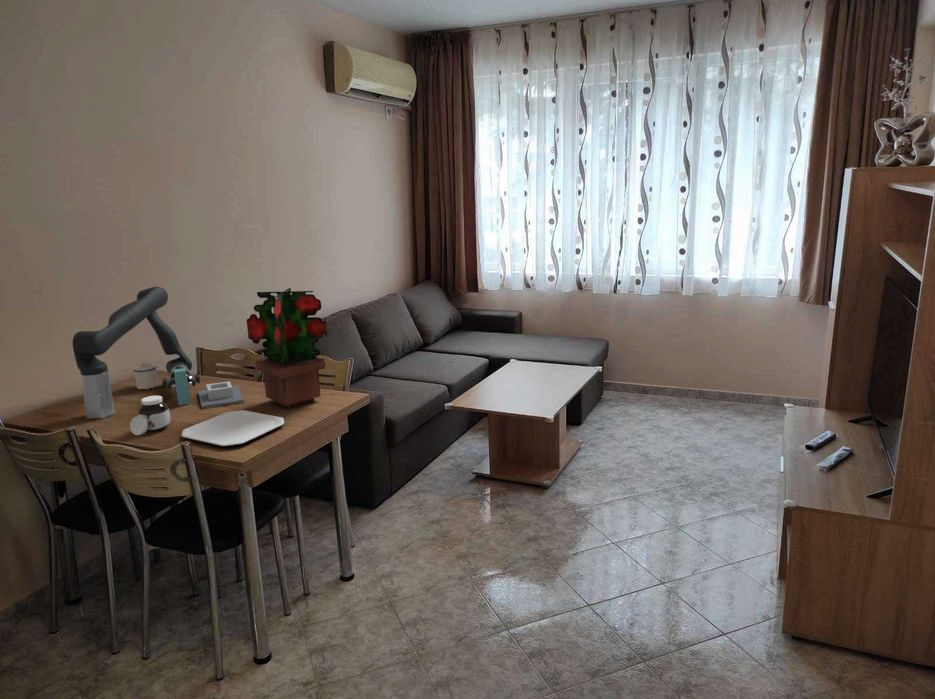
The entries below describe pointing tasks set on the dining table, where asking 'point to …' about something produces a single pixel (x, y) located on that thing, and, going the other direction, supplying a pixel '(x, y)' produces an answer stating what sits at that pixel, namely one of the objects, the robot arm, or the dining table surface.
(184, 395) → the teal peg
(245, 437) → the plate
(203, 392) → the socket holder
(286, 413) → the dining table surface
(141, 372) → the teacup with lid
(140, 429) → the spread jar
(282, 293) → the potted plant
